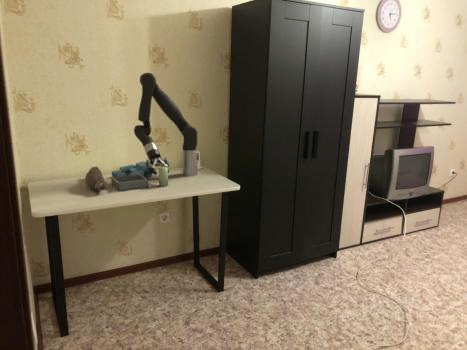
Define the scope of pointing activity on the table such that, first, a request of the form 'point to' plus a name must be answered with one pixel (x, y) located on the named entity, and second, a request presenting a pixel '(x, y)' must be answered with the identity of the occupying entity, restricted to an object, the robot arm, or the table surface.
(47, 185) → the table surface
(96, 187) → the cassava root
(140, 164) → the toy
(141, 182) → the bin
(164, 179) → the pale green rounded knob
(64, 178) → the table surface
